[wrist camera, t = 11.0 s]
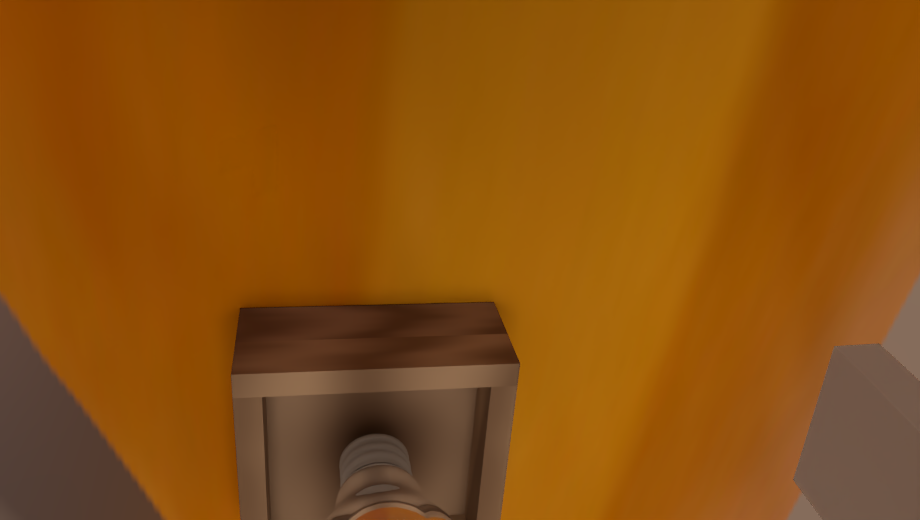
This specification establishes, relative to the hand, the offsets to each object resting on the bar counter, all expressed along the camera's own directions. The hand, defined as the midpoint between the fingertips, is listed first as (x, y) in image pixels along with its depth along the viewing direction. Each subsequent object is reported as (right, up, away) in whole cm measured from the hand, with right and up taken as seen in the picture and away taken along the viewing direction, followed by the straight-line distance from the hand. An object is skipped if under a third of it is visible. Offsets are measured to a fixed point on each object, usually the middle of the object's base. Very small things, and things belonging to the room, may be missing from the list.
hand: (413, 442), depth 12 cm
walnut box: (-4, -5, +30) cm, 31 cm away
